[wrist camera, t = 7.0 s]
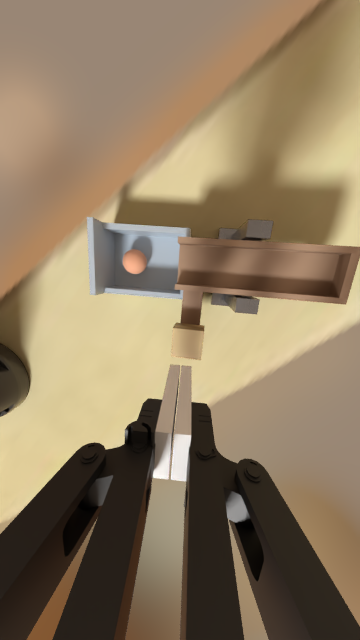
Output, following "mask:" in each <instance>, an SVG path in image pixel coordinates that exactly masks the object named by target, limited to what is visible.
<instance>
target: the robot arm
mask: <svg viewBox="0 0 360 640" xmlns="http://www.w3.org/2000/svg"><path fill="white" fill-rule="evenodd" d="M179 373H180V365H171V364H170V368H169V373H168V377H167V382H166V386H165V391H164V395H163V399H162V400H159V399H149V398H148V399H147V400H146V401H145V402H144V403H143V406H142V408H141V411H140V414H139V417H138V419H137V421H135V422H132V423H131V424H129V425H128V426H127V428H126V429H125V444H124V445H122V446H120V447H117V448H113V449H107V450H105V448H104V446H103V445H101V444H100V443H89V444H86V445H84V446H82V447H81V448H80V449H79V450H77V451H76V452H75V454H74V455H73V456H72V457H71V458H70V459H69V460H68V461H67V462H66V463H65V464H64V465H63V467H62V468H61V469H60V470H59V471H58V472H57V473H56V474H55V475H54V476H53V477H52V479H51V480H50V481H49V482H48V483H47V484H46V485H45V486H44V487H43V488H42V489H41V491H40V492H39V493H38V494H37V495H36V496H35V497H34V498H33V499H32V500H31V501H30V503H29V504H28V505H27V506H26V507H25V508H24V509H23V510H22V511H21V512H20V513H19V514H18V516H17V517H16V518H15V519H14V520H13V521H12V522H11V523H10V524H9V525H8V527H7V528H6V529H5V530H4V531H3V532H2V533H1V534H0V640H26V639H27V638H28V636H29V634H30V633H31V631H32V629H33V627H34V626H35V624H36V622H37V621H38V619H39V617H40V615H41V614H42V612H43V610H44V608H45V607H46V605H47V603H48V602H49V600H50V598H51V597H52V595H53V593H54V591H55V590H56V588H57V586H58V585H59V583H60V581H61V579H62V577H63V576H64V574H65V573H66V571H67V569H68V567H69V566H70V564H71V562H72V561H73V559H74V557H75V555H76V554H77V552H78V550H79V549H80V547H81V545H82V543H83V542H84V540H85V538H86V536H87V535H88V533H89V531H90V530H91V528H92V526H93V524H94V522H95V521H96V519H97V521H96V524H95V527H94V529H93V532H92V535H91V537H90V540H89V543H88V546H87V548H86V551H85V554H84V556H83V559H82V562H81V564H80V567H79V570H78V572H77V575H76V578H75V581H74V583H73V586H72V589H71V591H70V594H69V597H68V600H67V602H66V605H65V607H64V610H63V613H62V616H61V619H60V621H59V624H58V626H57V629H56V632H55V634H54V637H53V640H125V636H126V632H127V626H128V620H129V614H130V609H131V603H132V597H133V591H134V586H135V580H136V574H137V568H138V563H139V557H140V551H141V546H142V540H143V534H144V529H145V523H146V517H147V511H148V505H149V500H150V494H151V482H152V477H153V478H161V479H168V478H169V477H168V476H169V469H170V459H171V450H172V441H173V432H174V424H175V415H176V406H177V415H176V424H175V434H174V446H173V459H172V472H171V480H178V481H186V493H185V502H184V507H185V515H184V542H183V569H182V596H181V621H180V640H244V635H243V627H242V621H241V614H240V605H239V599H238V591H237V584H236V576H235V569H234V561H233V554H232V547H231V540H230V533H229V525H228V519H229V522H230V525H231V527H232V531H233V533H234V536H235V540H236V543H237V546H238V549H239V551H240V554H241V558H242V561H243V564H244V567H245V570H246V573H247V576H248V578H249V581H250V585H251V588H252V591H253V594H254V597H255V600H256V603H257V605H258V609H259V612H260V614H261V617H262V621H263V623H264V626H265V630H266V633H267V635H268V639H269V640H360V626H359V625H358V623H357V621H356V620H355V618H354V616H353V615H352V613H351V611H350V610H349V608H348V606H347V604H346V603H345V601H344V599H343V598H342V596H341V595H340V593H339V591H338V590H337V588H336V586H335V584H334V583H333V581H332V579H331V578H330V576H329V574H328V573H327V571H326V569H325V568H324V566H323V564H322V563H321V561H320V559H319V558H318V556H317V554H316V553H315V551H314V550H313V548H312V546H311V544H310V543H309V541H308V539H307V538H306V536H305V534H304V533H303V531H302V529H301V528H300V526H299V524H298V522H297V521H296V519H295V517H294V516H293V514H292V512H291V511H290V509H289V507H288V506H287V504H286V502H285V501H284V499H283V497H282V496H281V494H280V492H279V491H278V489H277V487H276V486H275V484H274V482H273V481H272V479H271V477H270V476H269V474H268V472H267V471H266V470H265V468H264V467H263V466H262V465H261V464H259V463H258V462H257V461H254V460H252V459H243V460H240V461H239V463H238V464H237V463H235V462H232V461H230V460H228V459H226V458H224V457H223V456H222V455H221V454H220V453H219V452H218V451H217V449H216V446H215V443H214V435H213V427H212V419H211V411H210V409H209V407H208V406H207V404H204V403H194V402H191V366H182V367H181V377H180V386H179V396H178V385H179ZM28 390H29V379H28V375H27V372H26V369H25V367H24V365H23V364H22V362H21V361H20V360H19V358H18V357H17V356H16V355H15V354H14V353H13V352H12V351H11V350H9V349H8V348H6V347H5V346H3V345H1V344H0V417H1V416H3V415H6V414H7V413H9V412H11V411H12V410H13V409H15V408H16V407H17V406H19V405H20V404H21V403H22V402H23V401H24V400H25V398H26V396H27V394H28ZM177 397H178V405H177Z"/></svg>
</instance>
